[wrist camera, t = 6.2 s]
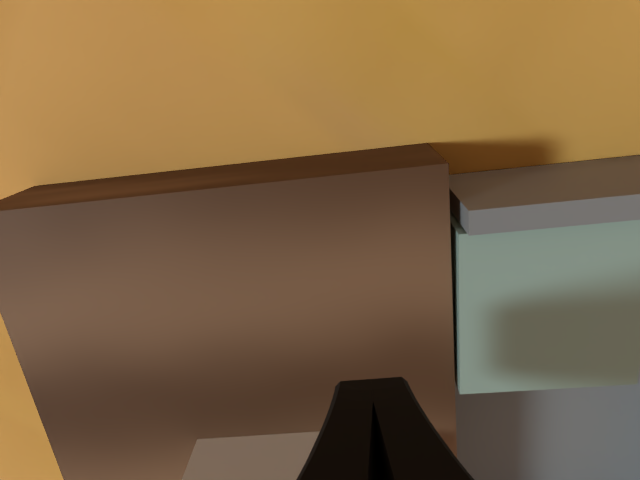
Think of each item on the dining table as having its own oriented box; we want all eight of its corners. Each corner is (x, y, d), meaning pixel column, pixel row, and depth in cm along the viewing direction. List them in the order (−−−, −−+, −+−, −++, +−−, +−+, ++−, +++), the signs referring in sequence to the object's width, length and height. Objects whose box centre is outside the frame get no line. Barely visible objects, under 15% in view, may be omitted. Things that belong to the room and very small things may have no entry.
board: (442, 487, 18) (459, 564, 16) (136, 503, 19) (101, 579, 17) (427, 142, 14) (448, 163, 11) (34, 186, 15) (-37, 214, 12)
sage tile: (590, 332, 15) (637, 384, 13) (441, 342, 16) (459, 394, 13) (604, 190, 14) (660, 217, 11) (438, 204, 14) (458, 234, 12)
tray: (649, 517, 19) (718, 618, 15) (451, 526, 19) (475, 626, 16) (704, 148, 14) (820, 176, 10) (438, 175, 14) (468, 210, 11)
